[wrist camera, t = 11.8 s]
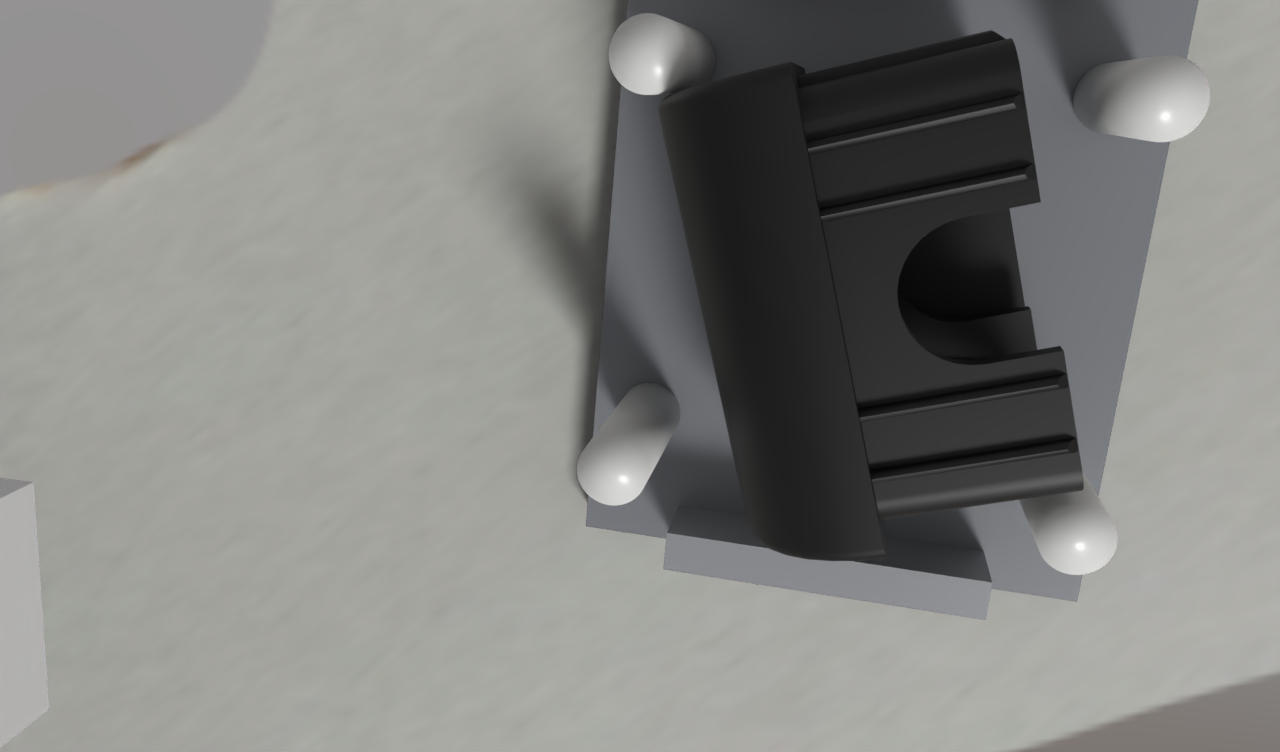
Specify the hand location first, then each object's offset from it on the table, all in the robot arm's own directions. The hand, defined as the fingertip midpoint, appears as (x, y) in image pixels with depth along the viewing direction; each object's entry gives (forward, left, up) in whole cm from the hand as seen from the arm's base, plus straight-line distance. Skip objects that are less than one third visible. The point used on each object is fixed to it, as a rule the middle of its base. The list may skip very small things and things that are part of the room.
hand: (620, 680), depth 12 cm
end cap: (+2, +2, -19) cm, 19 cm away
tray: (+2, +2, -19) cm, 20 cm away
